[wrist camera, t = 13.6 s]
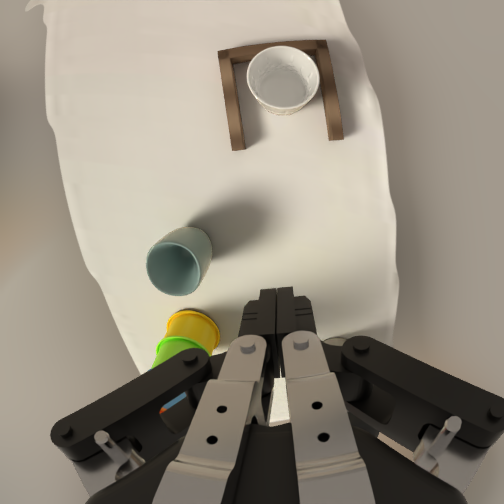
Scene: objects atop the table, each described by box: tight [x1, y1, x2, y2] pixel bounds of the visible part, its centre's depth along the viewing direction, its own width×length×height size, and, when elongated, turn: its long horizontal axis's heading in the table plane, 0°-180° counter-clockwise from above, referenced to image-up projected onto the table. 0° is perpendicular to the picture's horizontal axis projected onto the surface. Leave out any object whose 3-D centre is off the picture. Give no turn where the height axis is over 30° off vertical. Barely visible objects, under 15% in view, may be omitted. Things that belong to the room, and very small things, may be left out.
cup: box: [146, 227, 212, 296], centre depth 39 cm, size 8×8×10 cm
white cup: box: [247, 46, 320, 116], centre depth 30 cm, size 8×8×10 cm
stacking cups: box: [147, 310, 220, 413], centre depth 33 cm, size 10×10×35 cm
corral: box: [218, 40, 344, 151], centre depth 33 cm, size 15×15×3 cm
